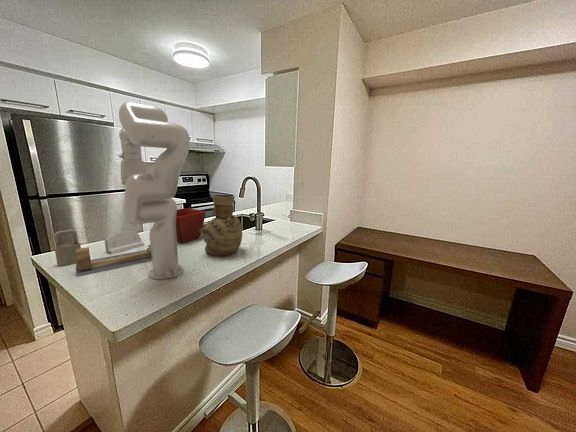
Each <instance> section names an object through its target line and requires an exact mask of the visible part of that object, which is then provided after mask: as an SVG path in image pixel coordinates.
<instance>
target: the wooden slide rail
mask: <svg viewBox="0 0 576 432" xmlns="http://www.w3.org/2000/svg"><path fill="white" fill-rule="evenodd" d="M142 252H147V249H143V250H137V251H133V252H128V253H122V254H117V255H112V256H111V255H110V256H106V257H100V258H94V259H91V262H94V261H99V260H105V259H110V258H115V257H121V256H126V255H131V254H137V253H142ZM147 262H152V257H144V258H139V259H135V260H130V261H125V262H120V263H115V264H110V265H105V266H100V267H95V268H91V269H86V270H81V271H79V266H78V262H77V263H75V275H76V277H82V276H87V275H90V274H91V275H92V274H96V273H100V272H105V271H109V270H115V269H119V268H123V267H129V266H133V265H137V264H143V263H147Z"/></svg>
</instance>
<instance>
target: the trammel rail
mask: <svg viewBox="0 0 576 432" xmlns="http://www.w3.org/2000/svg"><path fill="white" fill-rule="evenodd" d="M146 248H147V249H146V250H147V252H142V253H137V254H131V255H126V256H121V257H115V258H110V259H105V260H99V261H94V262H91V265H92V268H95V267H100V266H105V265H110V264H115V263H120V262H125V261H130V260H135V259H139V258H144V257H151V247H150V244H148V247H146Z"/></svg>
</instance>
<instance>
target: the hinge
mask: <svg viewBox="0 0 576 432" xmlns="http://www.w3.org/2000/svg"><path fill="white" fill-rule="evenodd" d="M104 245H105V246H104V247H105V252H106V254H108V253H110V254H111V255H114V254H118V253H122V252H126V251H130V250H133V249H137V248H141V247H144V246H145V243H144V242H143V241H142V239H141V236H140V235H139V232H138V231H132V230H130V231H121V232H117V233H115V234H112V235H110V236H108V237H106V238H105V239H104Z"/></svg>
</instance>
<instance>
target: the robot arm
mask: <svg viewBox="0 0 576 432" xmlns="http://www.w3.org/2000/svg"><path fill="white" fill-rule="evenodd" d="M118 119H119V122H120V124H121V128H120V129H119V132H118V134H119V136H118V137H119V140H120V144H121V145H120V146H121V154H118V158H121V159H122V160H121V161H120V177H121V183H120V184H121V185H123V186H125V191H124V205H123V206H124V207H123V212H124V218H125V220H126V221H127V223H129V224H130V225H143V224H150V223H153V224H152V226H151V227H150V229H149V245H150V247H151V257H152V261H151V266H152V269H151V270H149V271H148V277H149V278H150V279H153V280H166V279H172V278H174V277H177V276H179V275H181V274H182V273H183V271H184V267H183V266H182V265H180V263H179V253H178V242H177V238H176V214H177V209H178V207H177V206H178V205H177V203H176V201H175V199H173V197H175V195H176V193H177V189H178V185H179V181H180V175H181V170H182V167H183V165H184V163H185V160H186V159H187V157H188V154H189V150H190V146H191V145H190V144H191V142H190V135H189V132H188V130H187V129H186V128H185V127H184V126H183V125H180V124H178V123H173V122H170V121H169V117H168V115H167V114H166V112H165V111H164V110H163V109H162V108H159V107H157V106H154V105H149V104H143V103H138V102H132V101H127V102H123V103H122V104H121V105H120V106H119V111H118ZM142 147H143V148H159V149H165V150H164V151H163V152H161V153H160V155H158V156H157V157H156V158H155V161H154V162H153V166H152V167H153V168H152V172H151V173H148V171H147V166H146V163H145V160H143V155H142Z"/></svg>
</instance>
